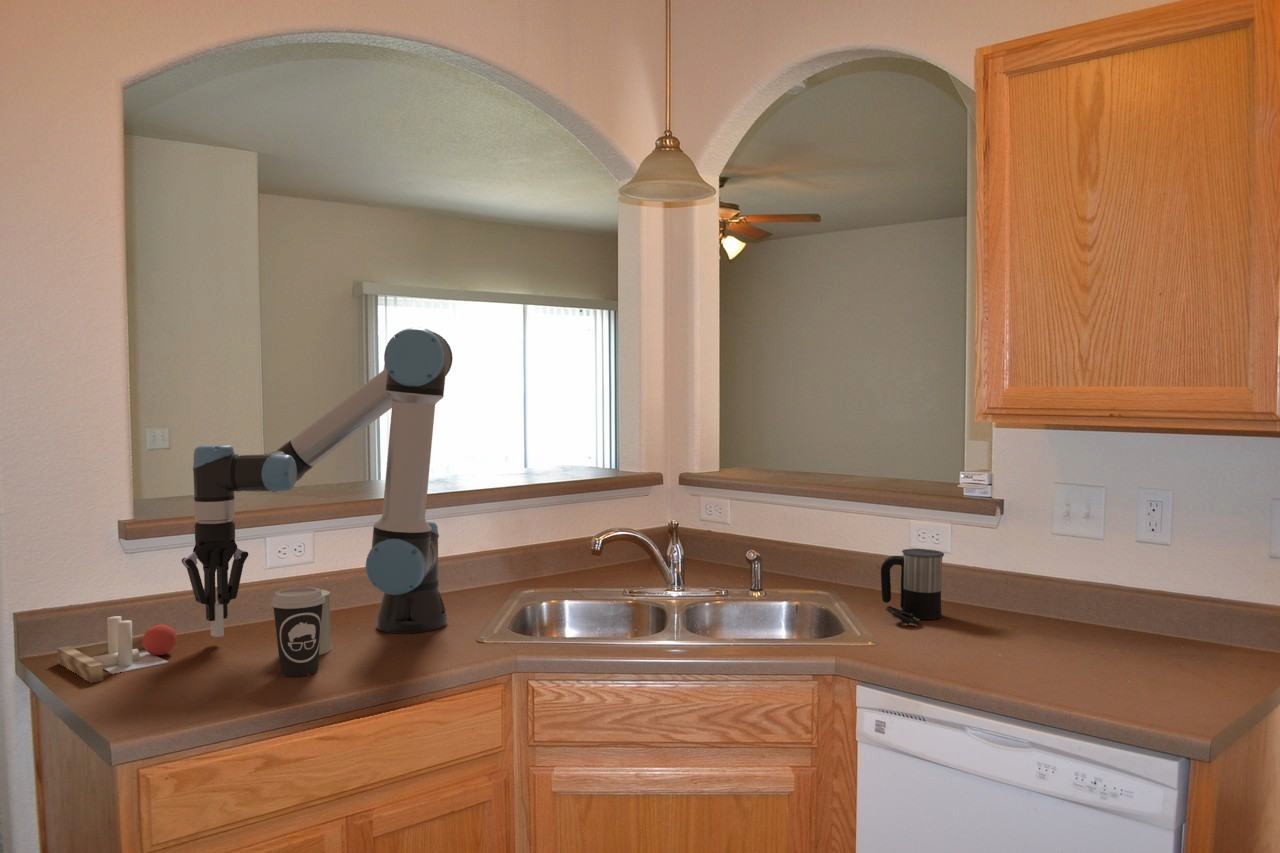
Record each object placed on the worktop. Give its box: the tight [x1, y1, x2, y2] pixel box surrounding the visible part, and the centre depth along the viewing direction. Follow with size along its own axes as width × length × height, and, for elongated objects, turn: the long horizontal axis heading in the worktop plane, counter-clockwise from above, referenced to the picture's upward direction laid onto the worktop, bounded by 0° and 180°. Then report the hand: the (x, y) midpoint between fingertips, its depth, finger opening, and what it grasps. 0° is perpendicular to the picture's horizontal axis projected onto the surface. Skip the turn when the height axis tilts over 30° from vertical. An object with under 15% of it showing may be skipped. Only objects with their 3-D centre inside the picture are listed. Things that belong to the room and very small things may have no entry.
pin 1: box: [106, 615, 123, 654], centre depth 186 cm, size 2×2×8 cm
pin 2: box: [118, 619, 133, 667], centre depth 182 cm, size 2×2×8 cm
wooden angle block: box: [57, 633, 146, 684], centre depth 185 cm, size 18×18×3 cm
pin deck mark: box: [103, 650, 169, 675], centre depth 185 cm, size 12×10×1 cm
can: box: [319, 589, 332, 656], centre depth 193 cm, size 9×9×12 cm
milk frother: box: [880, 548, 945, 626], centre depth 218 cm, size 14×16×15 cm
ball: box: [143, 623, 178, 657], centre depth 190 cm, size 6×6×6 cm
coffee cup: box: [270, 586, 325, 677], centre depth 179 cm, size 10×10×15 cm
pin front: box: [90, 649, 140, 667], centre depth 183 cm, size 2×2×8 cm
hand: (217, 635), depth 198 cm, fingers closed
